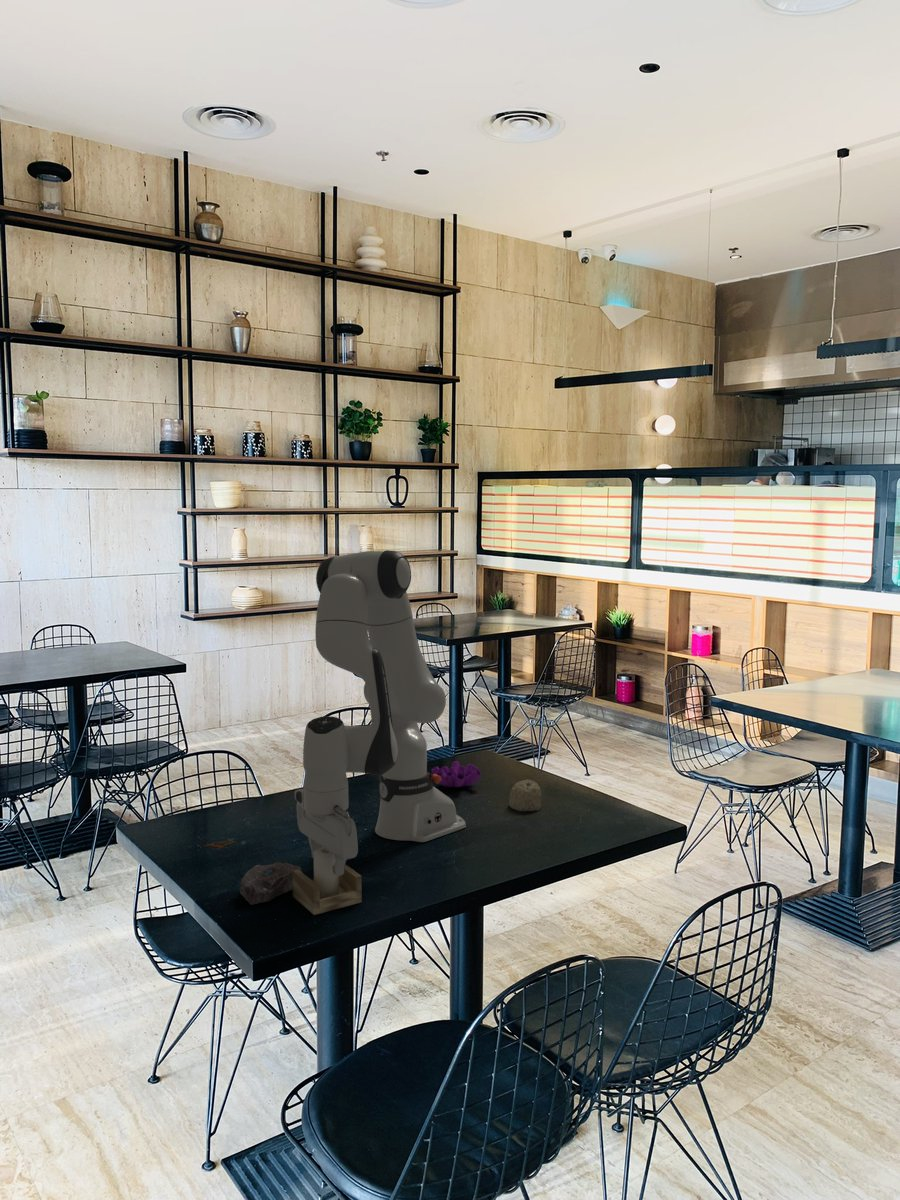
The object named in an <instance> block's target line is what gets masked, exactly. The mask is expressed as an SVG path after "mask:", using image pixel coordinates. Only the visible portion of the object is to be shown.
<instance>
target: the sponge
mask: <svg viewBox="0 0 900 1200" xmlns="http://www.w3.org/2000/svg"><path fill="white" fill-rule="evenodd" d="M508 806H509V807H510V808H511V809H513V810H515V811H519V812H535V811H539V810H541V808H542V791H541V787H540V786H539V784H538V783H537V782H535V780H531V779H524V780H520V781H518V782H516V783H515V784H514V785H513V786H512V788H511V791H510V794H509V801H508Z"/></svg>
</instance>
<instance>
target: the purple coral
mask: <svg viewBox="0 0 900 1200" xmlns="http://www.w3.org/2000/svg"><path fill="white" fill-rule="evenodd" d="M450 765H451V766H450V767H449V768H448V766H447V765H445V766H443V767H441V768H439V767H438V766H433V767H432V768H431V774H432V775H433V774H437V775H439V776H440V777H441V781H439V782H440V783H439V785H442V786H444V787H448V788H460V787H467V786H471V785H473V784H475V783H477V781H479V780H480V779H481V777H482V772H481V771H480V770H479V769H480V768H479V767H477V766H475V765H474V764H472V763H467V765H466V767H465V766H464V765H460V762H459V761H457V760H455V761H452V762H451V764H450Z"/></svg>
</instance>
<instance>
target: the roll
mask: <svg viewBox="0 0 900 1200" xmlns="http://www.w3.org/2000/svg"><path fill="white" fill-rule="evenodd" d="M320 847H321V848H317V849H315V850H314V859H313V880H314V882H315V883H316V884H317V885H318V886H319V895H320V899H322V898H326V897H330V896H334V895H338V894H339V876H336V875H335V874H334V873H333V866H332V865H335V861H336V860H335V859H334V855H333V854H332V853H330V852H329V851H327V850H326V849H324V848H323V847H322V846H320Z"/></svg>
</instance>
